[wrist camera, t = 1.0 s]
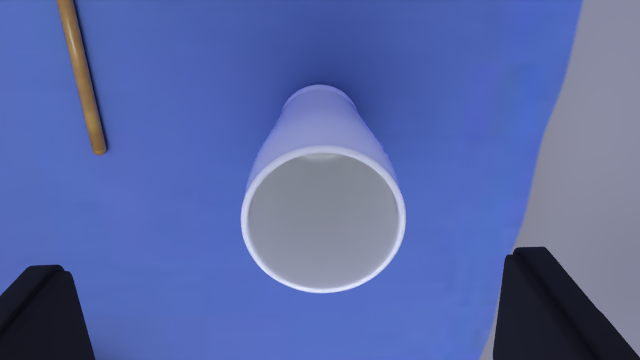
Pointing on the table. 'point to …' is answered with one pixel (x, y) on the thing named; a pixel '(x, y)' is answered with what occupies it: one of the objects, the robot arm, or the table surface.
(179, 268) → the table surface
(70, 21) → the wooden stick
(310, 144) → the drinking glass
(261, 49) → the table surface
